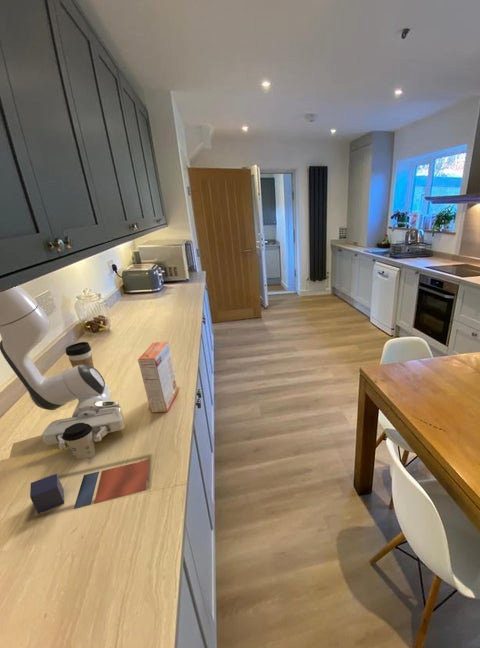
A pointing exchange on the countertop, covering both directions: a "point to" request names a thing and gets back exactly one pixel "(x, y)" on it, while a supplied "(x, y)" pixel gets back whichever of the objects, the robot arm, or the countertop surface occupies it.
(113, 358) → the countertop surface
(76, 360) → the coffee cup
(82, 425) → the coffee cup
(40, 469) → the countertop surface
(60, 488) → the navy block
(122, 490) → the sorting board
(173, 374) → the cracker box
